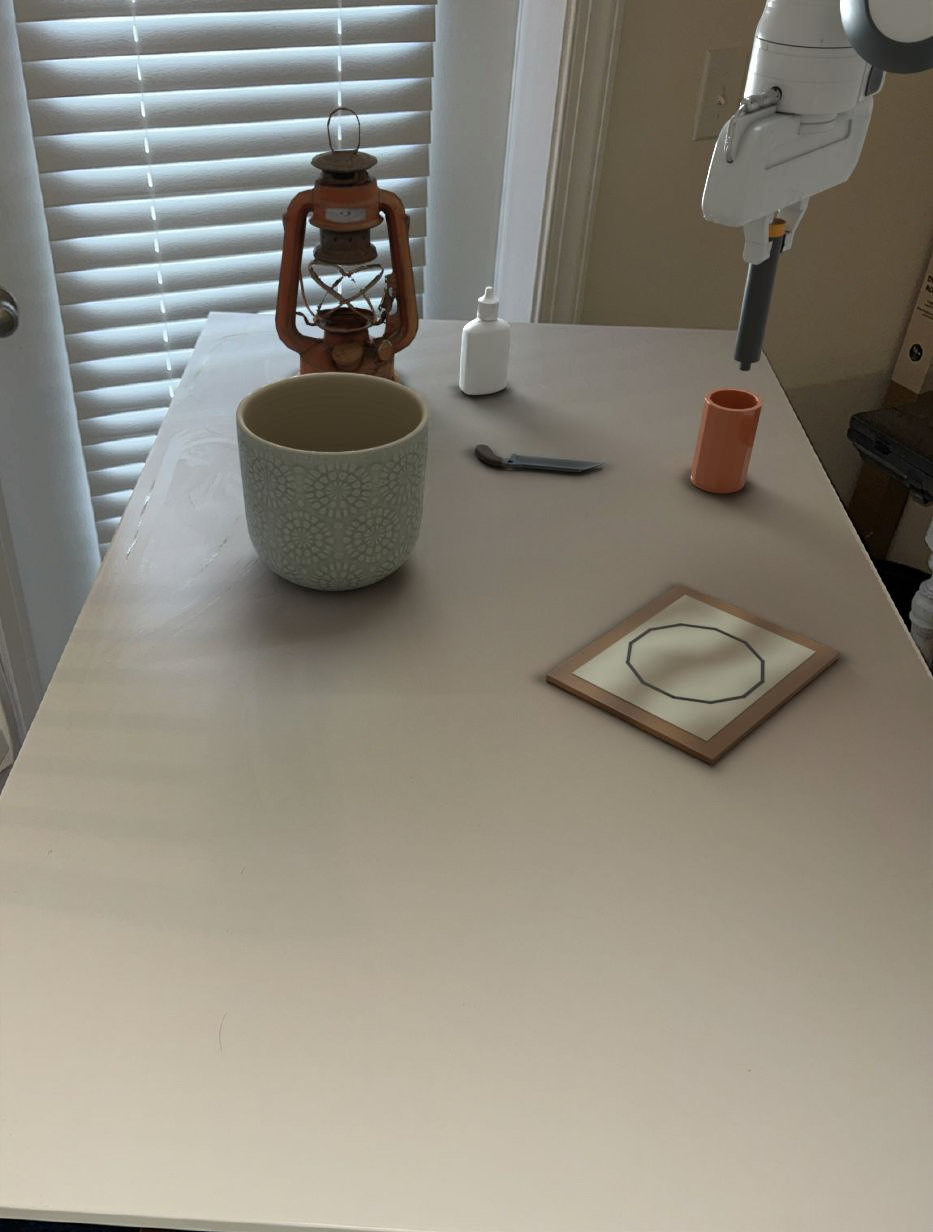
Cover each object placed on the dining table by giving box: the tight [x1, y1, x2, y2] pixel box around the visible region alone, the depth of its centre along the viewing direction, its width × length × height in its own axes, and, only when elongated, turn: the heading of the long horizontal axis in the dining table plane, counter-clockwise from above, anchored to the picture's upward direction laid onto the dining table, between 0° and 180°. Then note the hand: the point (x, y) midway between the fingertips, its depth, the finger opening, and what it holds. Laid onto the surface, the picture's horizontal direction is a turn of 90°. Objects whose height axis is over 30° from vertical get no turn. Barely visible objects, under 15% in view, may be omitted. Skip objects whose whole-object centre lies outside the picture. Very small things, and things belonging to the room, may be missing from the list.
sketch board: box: [545, 583, 841, 765], centre depth 105 cm, size 16×20×1 cm
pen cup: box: [689, 387, 764, 494], centre depth 128 cm, size 6×6×9 cm
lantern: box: [274, 106, 420, 384], centre depth 141 cm, size 17×13×30 cm
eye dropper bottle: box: [458, 286, 511, 396], centre depth 145 cm, size 4×6×12 cm
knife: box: [474, 444, 605, 473], centre depth 134 cm, size 14×4×1 cm, turn 78°
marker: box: [732, 216, 786, 372], centre depth 111 cm, size 2×2×13 cm
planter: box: [235, 373, 430, 592], centre depth 114 cm, size 17×17×15 cm
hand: (766, 256), depth 109 cm, fingers closed on marker, 2 cm apart
